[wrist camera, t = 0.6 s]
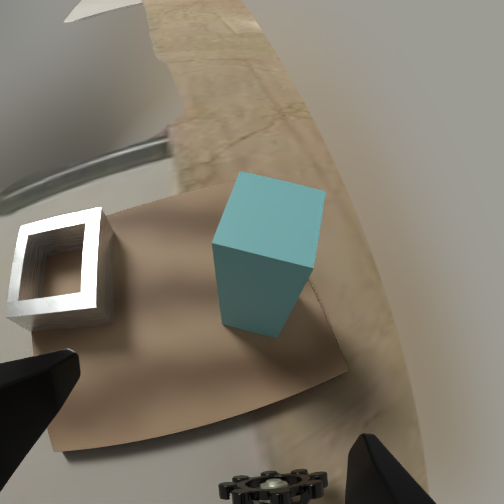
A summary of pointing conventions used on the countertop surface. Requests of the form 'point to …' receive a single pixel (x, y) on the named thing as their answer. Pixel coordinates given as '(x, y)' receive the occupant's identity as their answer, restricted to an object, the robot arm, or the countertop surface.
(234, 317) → the block
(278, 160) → the countertop surface
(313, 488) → the valve
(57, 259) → the board
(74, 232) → the collar
